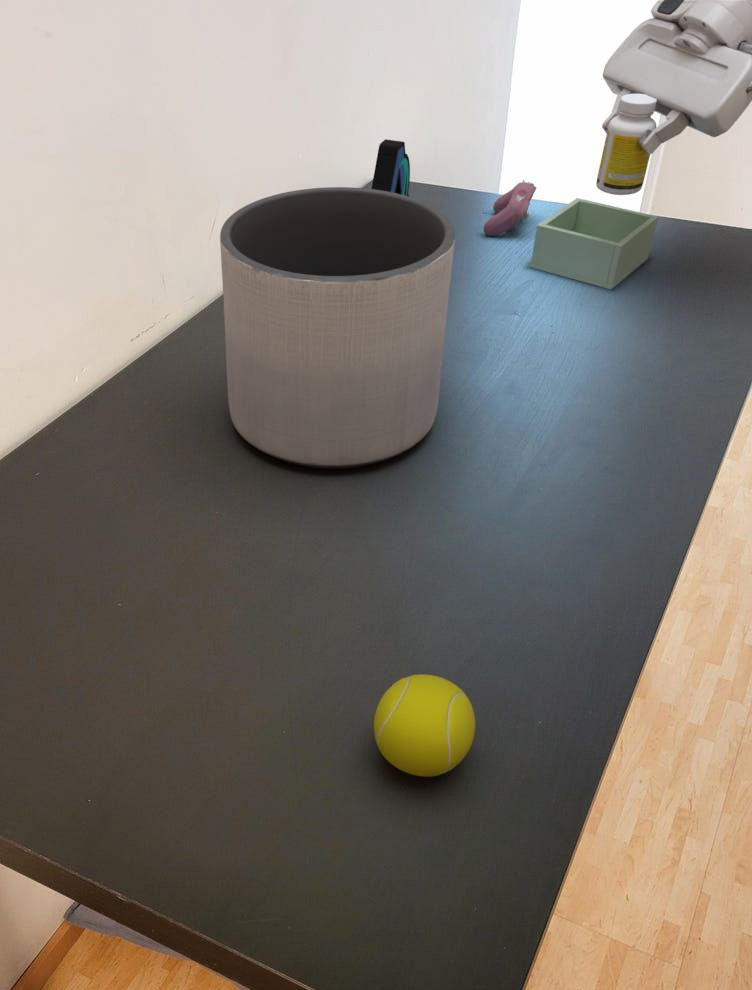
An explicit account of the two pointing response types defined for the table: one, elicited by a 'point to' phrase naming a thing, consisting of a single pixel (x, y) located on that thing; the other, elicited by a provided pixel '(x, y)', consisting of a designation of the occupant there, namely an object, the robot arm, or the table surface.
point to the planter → (335, 323)
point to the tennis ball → (424, 725)
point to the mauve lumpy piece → (510, 209)
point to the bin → (593, 242)
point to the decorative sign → (392, 168)
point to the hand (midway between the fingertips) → (624, 140)
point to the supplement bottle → (626, 146)
